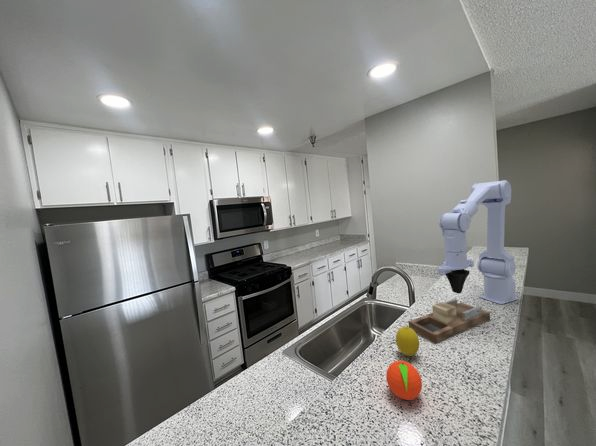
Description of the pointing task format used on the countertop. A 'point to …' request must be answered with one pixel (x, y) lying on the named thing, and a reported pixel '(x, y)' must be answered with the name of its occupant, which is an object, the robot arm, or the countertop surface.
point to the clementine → (404, 380)
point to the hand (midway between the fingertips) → (457, 292)
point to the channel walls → (467, 314)
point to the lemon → (407, 341)
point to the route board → (446, 324)
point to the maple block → (444, 312)
